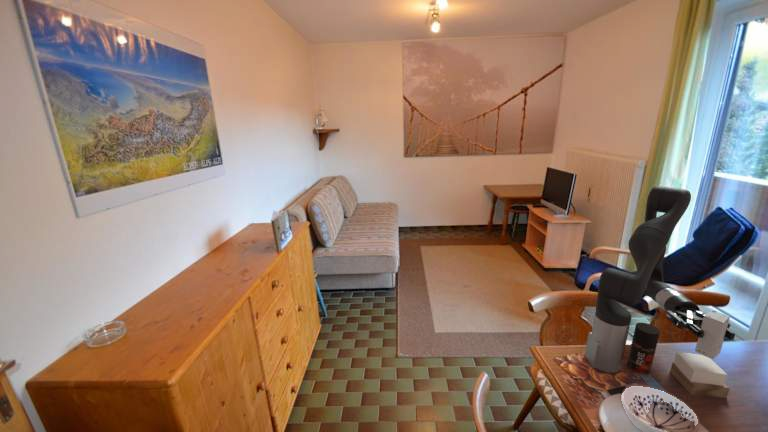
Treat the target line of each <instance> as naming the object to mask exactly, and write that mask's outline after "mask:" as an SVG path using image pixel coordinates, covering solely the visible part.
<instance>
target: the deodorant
mask: <svg viewBox="0 0 768 432" xmlns="http://www.w3.org/2000/svg"><path fill="white" fill-rule="evenodd" d="M660 332H661V331H660V329H659V328H658V327H656V326H654V325H653V324H650V323H646V322H637V323H636V324H635V327H634V331H633V336H632V341H631V345H630V349H629V354H628V358H627V364H626V365H627V367H628V369H629V370H631V371H632V372H634V373H636V374H638V375H642V376H647V375H650V373H651V370H652V365H653V362H654V358H655V353H656V349H657V347H658V346H657V345H658V342H659V338H660V334H661V333H660Z"/></svg>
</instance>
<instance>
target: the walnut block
mask: <svg viewBox="0 0 768 432" xmlns="http://www.w3.org/2000/svg"><path fill="white" fill-rule="evenodd" d="M669 373H671V375H672V376H673V377H674V378H675V379H676V381H678V382H679V384H680V385H681V386H683V388H684V389H685V390H686V391H687V392H688V393H689V394H690V395H692V396H702V397H711V398H722V399H723V398H724V399H727V398H728V394H729V391H730V389H731V387H730V386H728V385H727V383H726V382H725V383H724V386H719V385H712V384H704V383H696V382H690V381H689V379H688V378H687V377H686V376H685V375H684V374H683V373H682V372H681V370H680V369H679V368H678V367H677V366H676V365H675V364H674V362H672V363H671V367H670V371H669Z"/></svg>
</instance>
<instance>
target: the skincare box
mask: <svg viewBox="0 0 768 432" xmlns="http://www.w3.org/2000/svg"><path fill="white" fill-rule="evenodd" d="M730 317H731V316H730V315H728V314H725V313H722V312H719V311H715V310H713V309H710V310H709V311H708V312H706V315H705V316H704V318H703V321H702V325H700V329H701V330H702V331H704V336H703V338H699V337H697V340H696V341H697V342H696V345H695V347H694V348H695V349H694V352H695V353H696V354H699V355H704V356H706V357H708V358H710V359H711V360H714V359H716V358H717V357H718V356H719V355H720V354H721V351H722V348H723V344H724V339H725V338H726V337H725V334H726V330H727V326H728V322H729V323H730Z"/></svg>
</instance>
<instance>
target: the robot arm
mask: <svg viewBox="0 0 768 432" xmlns="http://www.w3.org/2000/svg"><path fill="white" fill-rule="evenodd" d="M691 200H692V194H691V192H690V190H687V189H685V188H679V187H669V186H661V185H660V186H659V185H656V186H653V187H652V188H651V189H650V191H649V193H648V195H647V199H646V205H645V215H644V223H641V224H640V225H638V226H637V227H636V229H634V232H633V233H632V234H631V237H630V239H629V240H628V243H627V244H628V249H629V252H630V253H629V254H631V257H632V259H633V261H634V264H635V267H636V270H633V271H631V272H627V271H625V270H624V271H623V270H621V269H616V268H613V267H607V268H605V269H604V270H603V271H602V272H601V275H600V277H599V279H598V280H599V281H598V286H597V288H598V289H597V296H596V303H595V312H594V319H593V322H592V329H591V331H589V332H588V336H587V340H586V341H587V342H586V347H585V351H584V352H585V353H584V358H586V360H587V361H588V363H589V364H590V366H591V368H592V369H597V370H600V371H601V372H605V373H609V374H610V373H611V374H615V373H619V372H620V371H621V367H622V364H623V359H624V354H625V349H626V344H627V340H628V335H629V331H630V326H631V322H632V314H631V312H630V311H629V310H628V309H627V308H626V307H625V306H623V305H621V304H620V303H622V304H625V305H630V306H635V305H638V304H639V302H640V301H641V300H642V297H643V296H646V297H649V298H651V299H652V300H653V301H654V302H655V303H656V304H657V305H658V306H659V307H660V308H661V309H662V310H664V312H666V316H665V319H666V320H668V321H669V322H670V323H672V324H673V325H674V326H675V327H676V328H678V329H680V330H681V329H683V328H684V329H685V330H686V331H690V332H691V333H692V334H693V335H694V336H696V337H697V338H698V337H699V338H703V336H704V331H702V330H701V327H699V326H701V325H702V321H703V318H704V316H705V315H706V314H707V312H706V313H705V312H703V311H701V310H700V307H699V305H698V304H697V303H696V302H694V301H692V300H691V299H689V298H688V297H687V296H686V295H684V294H683V293H681V292H680V291H677V290H676V289H674V288H673V287H671V286H670V285H669V284H667V283H665V281H664V269H663V268H664V267H663V263H664V260H665V255H666V252H667V251H666V250H667V245H668V243H669V242H670V239H671V236H672V234H673V232H674V229H675V228H676V227H677V225H678V223H679V222H680V220H681V219H682V217H684V214H685V212H686V211H687V209H688V207H689V206H690V203H691ZM658 213H663V214H662V215H659V216H658V217H657V214H658ZM731 325H732V324H731V323H730V321H729V322H728V326H727V330H726V334H725V337H724V338H726V339H728V340H730V341H731V340H732V341H733V340H735V336H736V333H735V332H733V330H731V329H730V327H731Z"/></svg>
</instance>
